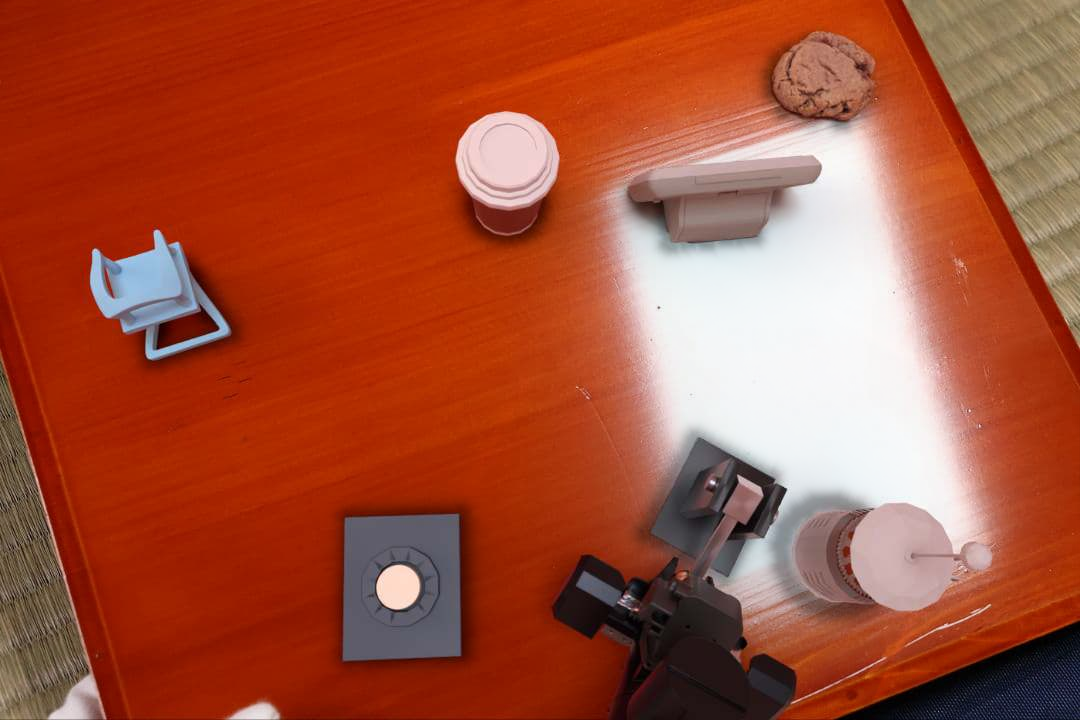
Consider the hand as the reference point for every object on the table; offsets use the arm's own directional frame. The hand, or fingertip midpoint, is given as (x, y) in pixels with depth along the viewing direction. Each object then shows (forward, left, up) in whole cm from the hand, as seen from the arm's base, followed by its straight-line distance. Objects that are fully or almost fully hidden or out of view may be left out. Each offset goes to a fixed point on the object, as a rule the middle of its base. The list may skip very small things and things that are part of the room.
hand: (691, 569), depth 74 cm
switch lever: (+2, -1, +2) cm, 4 cm away
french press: (+1, -15, -5) cm, 16 cm away
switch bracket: (+6, -3, -5) cm, 8 cm away
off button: (0, +25, -1) cm, 25 cm away
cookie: (+49, -18, -5) cm, 52 cm away
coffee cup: (+36, +15, -5) cm, 39 cm away
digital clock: (+36, -5, -5) cm, 36 cm away
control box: (0, +25, -5) cm, 25 cm away
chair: (+26, +46, -5) cm, 53 cm away
